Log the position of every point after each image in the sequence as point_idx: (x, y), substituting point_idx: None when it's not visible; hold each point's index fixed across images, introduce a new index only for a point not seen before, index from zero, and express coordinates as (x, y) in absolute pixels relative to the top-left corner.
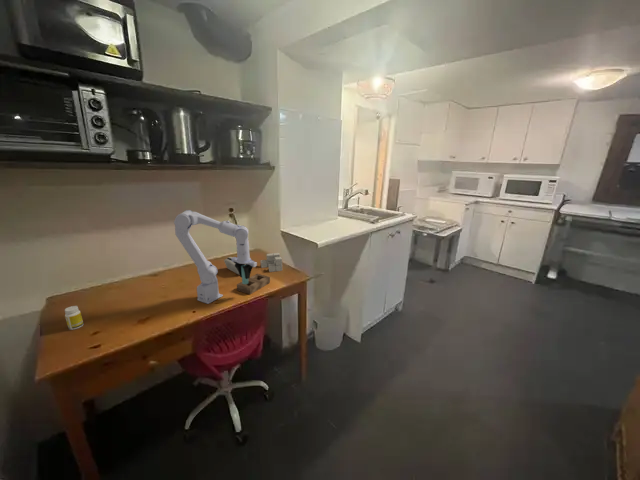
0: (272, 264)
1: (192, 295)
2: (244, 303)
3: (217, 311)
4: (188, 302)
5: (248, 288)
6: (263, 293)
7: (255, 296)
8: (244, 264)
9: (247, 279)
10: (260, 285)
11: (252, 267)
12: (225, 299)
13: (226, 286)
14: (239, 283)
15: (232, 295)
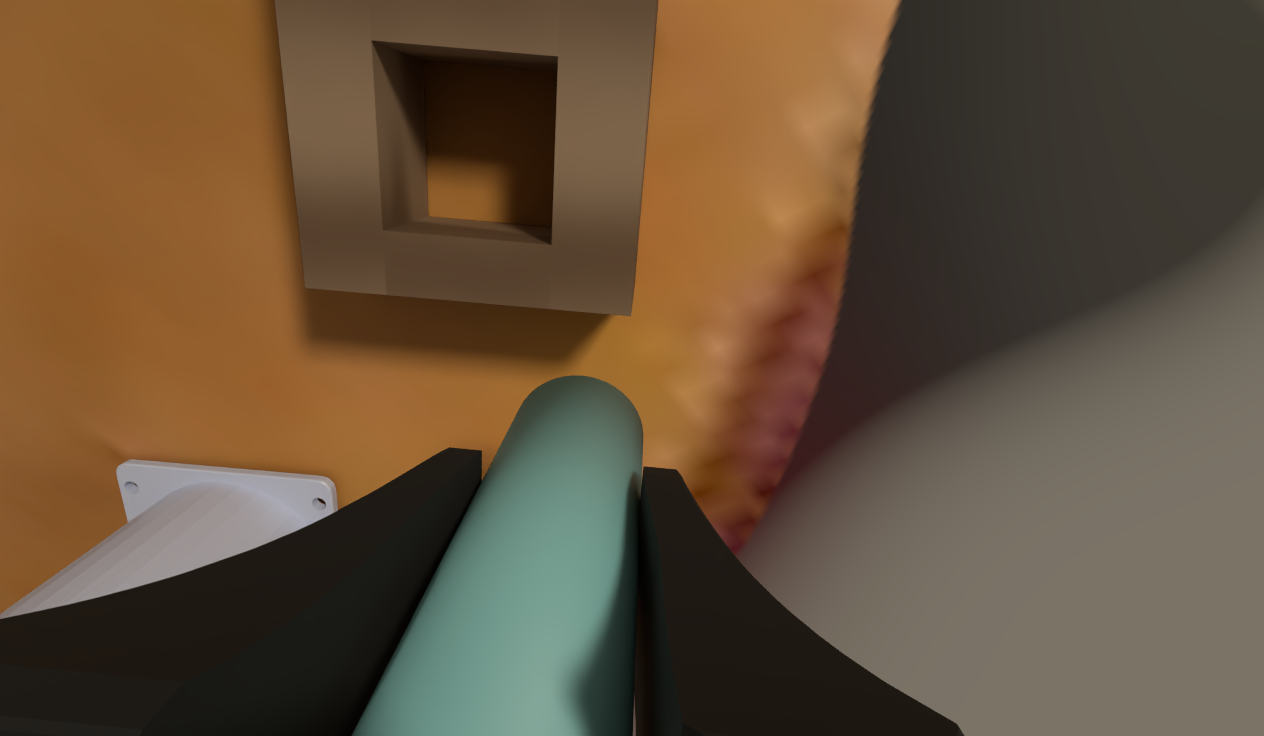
0: None
1: (19, 594)
2: (714, 514)
3: None
4: None
5: (592, 307)
6: (809, 171)
7: (742, 309)
8: (273, 684)
9: (640, 489)
10: (657, 1)
11: (864, 688)
12: None
13: (107, 224)
14: (320, 238)
15: (425, 415)
